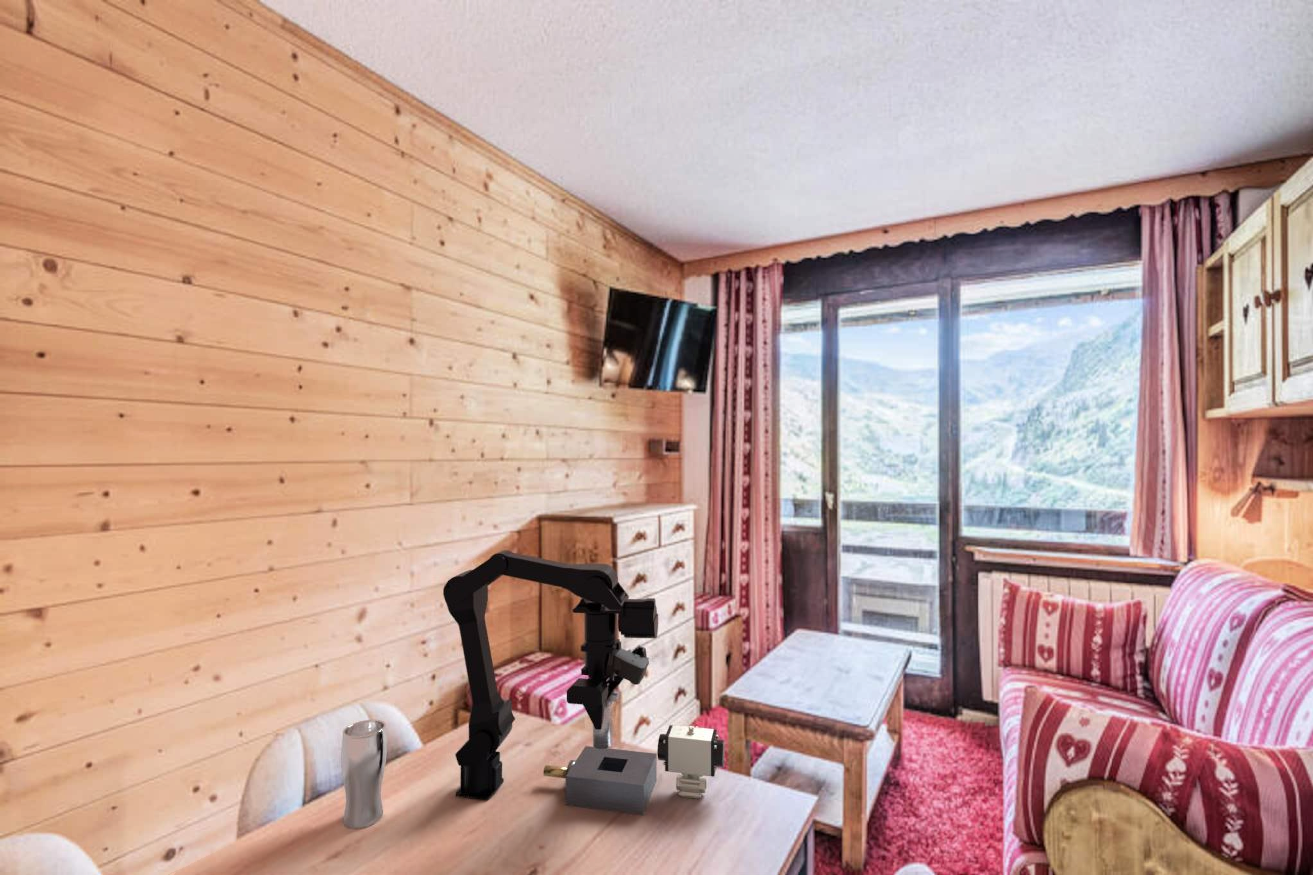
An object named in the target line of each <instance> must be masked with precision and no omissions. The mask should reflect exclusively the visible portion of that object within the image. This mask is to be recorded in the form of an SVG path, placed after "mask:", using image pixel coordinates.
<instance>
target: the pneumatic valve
mask: <svg viewBox="0 0 1313 875" xmlns="http://www.w3.org/2000/svg"><path fill="white" fill-rule="evenodd" d="M719 738H720V736H719V735H718V729H716V728H714V729H713V728H707V727H705V728H703V727H699V726H697V725H696V726H694V725H688V726H686V725H685V726H683V725H673V724H672V725H671V724H669V725H668V729H667V731H666V733H660V734H659V736H658V741H657V753H656V754H657V759H658V760H657V761H663V764H662V765H663V766H664V772H670V773H678V775H676V780H675V789H676V791H679V792H678V795H679V796H681V797H682V798H689V799H697V800H699V799H701V798H702V794H705V793H706V792H707V778H706V777H714V778H715V776H716V772H717V769H718V768H724V766H725V756H726V755H725V754H726V750H725V748H726V743H725V739H719ZM717 767H718V768H717ZM703 776H704V777H703ZM705 776H706V777H705Z"/></svg>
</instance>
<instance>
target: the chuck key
mask: <svg viewBox="0 0 1313 875" xmlns="http://www.w3.org/2000/svg"><path fill="white" fill-rule="evenodd" d="M618 701H619V693H618V692H617V693H616V692H614V693H613V694H612V695H611V696H610V697H609V699H608V700H606V701H605V709H604V717H603V724H602V729H601V730H598V729H595V727H594V725H593V724H592V745H593V746H592V747H594V748H597V749H606V748H611V745H612V722H611V721H612V718H611V717H612V716H611V715H612V714H611V713H612V712H611V710H612V709H611V708H612V704H611V703H610V702H612V703H617V702H618Z"/></svg>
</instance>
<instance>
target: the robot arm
mask: <svg viewBox="0 0 1313 875" xmlns="http://www.w3.org/2000/svg"><path fill="white" fill-rule="evenodd" d="M502 576H506V577H510V578H514V579H520V580H524V581H529V582H535V583H539V584H543V585H544V584H545V585H548V586H553V587H557V588H562V589H564V590H567V591H568V592H570V593H571V594H573V595H574V596H576V597H579V598H581V599H580V601H579V602H578V603H577V604H576V605H575V606H574V608H573V609H572V613H573V614H584V615H583V618H584V619H583V622H584V624H583V626H584V632H583V633H584V642H583V643H582V644H580V652H581V653H582V652H583V653H584V665H583V667H582V668H580V669H581V670H580V671H581V672H580V674H581V676H588V678H582V677H581V678H577V679H576V681H574V682H573V683H572V684H571V686H569V687H568V689H567V690H566V703H568V704H572V705H582V706H583V708H584V709H585V711H586V713H587V715H588V718H589V719H590V721H591V724H592V726H593V725H594V727H595V729H598V730H601V729H602V724H603V717H604V709H605V701H606V700H608V699H609V697H610V696H611V695H612V694H613V693H615V691H616V689H617V687H618V686H619V685H621V683H622V682H623V680H627V681H629V682H630V684H632V685H639V684H640V683H641V682H642V681H643V679H644V677H645V675H646V671H647V669H648V666H649V665H650V658H649V657H647V649H646V647H644V646H641V645H640V644H639V645H638V646H636V647H635V648H634V649H633V650H632V651H631V649H628V650H626V649H623V648H622V641H620V639H619V638H617V630H618V632H619V633H620V635H621V636H623V637H624V638H626V639H657V638H658V634H659V632H658V631H659V613H658V611H657V610H658V608H657V604H656V598H655V597H654V598H653V597H648V598H641V599H640V598H635V599H634V598H630V596H629V594H628V592H626V590H625V589H624V587H623V586H622V585H621V583H620V582H619V580H618V579H619V578H618V574H617V571H615V569H614V567H613V566H611V565H609V564H607V563H590V562H589V563H578V564H577V563H575V564H574V563H572V564H571V563H564V562H561V561H555V560H550V559H545V558H541V557H536V556H532V555H531V556H530V555H526V554H521V553H517V552H516V553H515V552H512V551H510V550H506V549H503V550H500V551H499V552H497V553H494V554H492V555H491V556H490V557H489V558H488V559H487V560H486V561H484V562H483V563H481V564H479V565H478V566H477V567H474V568H473V569H469V570H466V571H463V572H461V573H459V574H457V575H455V576H453V577H451V578H449V579H448V580H447V582H445V584H444V586H443V589H442V590H443V591H442V592H443V593H442V595H443V598H444V602H445V604H446V608H447V610H448V613H449V614H450V616H451V617H452V618H453V620H454V621H455V623H457V626H458V628H459V630H458V631H459V634H460V639H461V646H462V651H463V657H464V664H465V670H466V676H467V679H468V680H467V681H468V687H469V692H470V697H471V707H470V708H471V709H470V712H469V713H470V714H469V718H468V739H467V740H466V742H465V743H463V745H462V746H461V747H460V748H459V749H458V751H457V752H456V753H455V760H456V762H457V765H458V766H459V767H460V781H459V782H460V786H459V788H458V789H457V790H456V791H455V796H456V797H460V798H461V797H462V798H467V799H469V798H470V799H477V800H484V801H487V800H489V799H491V797H492V796H493V795H494V794H495V793H496V791H497V790H498V789H499V788H500V787H501V786H502V784H503V783H504V781H505V780H504V778H503V762H502V761H501V752H500V751H497V750H498V749H499V748H500V747H501V745H502V744H503V743H504V741H505V740H506V738H507V737H508V736H509V735H510V733H511V731H512V728H513V723H514V721H515V720H516V717H515V716H514V713H513V709H512V707H513V706H512V699H511V698H508V699H506V700H504V699H503V698H502V696H501V695H500V694H499V690H498V686H497V680H496V673H495V669H494V664H493V658H492V657H493V656H492V652H491V646H490V645H491V644H490V639H489V636H488V635H489V634H488V629H487V623H486V611H487V606H488V603H489V601H488V600H489V590H488V589H489V585H491V584H492V583H494V582H495V581H496V580H498V579H499V578H500V577H502ZM610 703H611V705H613V704H612V703H613V702H610Z"/></svg>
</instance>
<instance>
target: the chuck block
mask: <svg viewBox="0 0 1313 875" xmlns="http://www.w3.org/2000/svg"><path fill="white" fill-rule="evenodd" d="M657 759H658V755H657V753H654V752H646V751H645V752H644V751H637V750H636V751H634V750H625V749H617V748H610V747H608V748H606V749H597V748H594V746H589V745H585V746H584V748H582V751H581V753H580V754H579V755H578V757H577V759H576V760H575V759H571V760H569V762H568V765H567V767H565V766H560V765H559V766H557V765H548V764H546V765H544V768H543V777H547V778H548V777H549V778H557V779H565V806H570V807H577V808H583V809H584V808H586V809H593V810H601V811H607V812H615V813H618V812H619V813H624V814H625V813H626V814H632V815H639V816H640V815H642V816H644V815H645V813H646V809H647V807H648V804H649V802H650V799H651V797H652V794H653V791H654V789H655V786H656V783H657V775H658V774H657V773H658V772H657V769H658V768H657V767H658V766H657V764H658V763H657V761H658V760H657Z"/></svg>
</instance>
